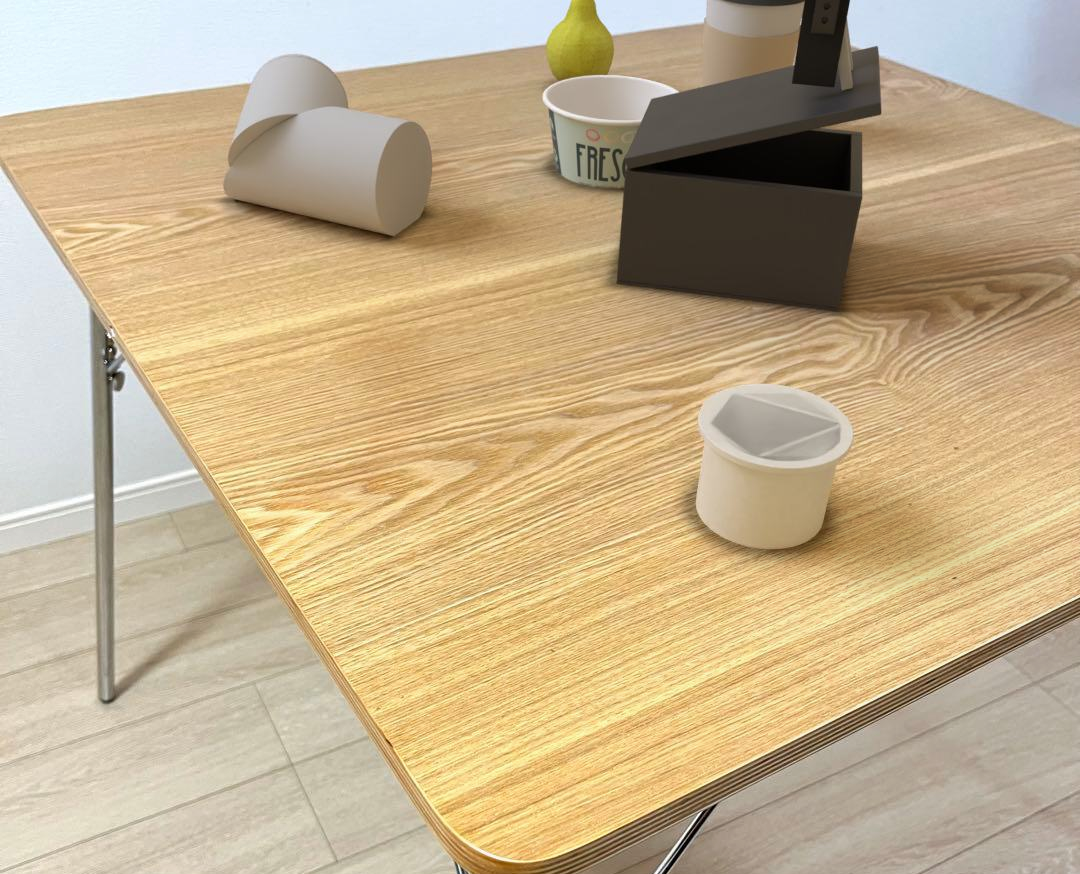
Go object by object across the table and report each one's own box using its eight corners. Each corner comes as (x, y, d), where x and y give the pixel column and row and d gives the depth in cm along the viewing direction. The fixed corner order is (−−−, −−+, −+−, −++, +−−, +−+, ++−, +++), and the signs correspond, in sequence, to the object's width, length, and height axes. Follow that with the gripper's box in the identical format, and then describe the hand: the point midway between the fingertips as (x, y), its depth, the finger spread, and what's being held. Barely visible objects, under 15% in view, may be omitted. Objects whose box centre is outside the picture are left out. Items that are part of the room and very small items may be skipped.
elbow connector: (143, 195, 89) (362, 247, 83) (137, 49, 84) (370, 94, 78) (278, 171, 104) (473, 214, 97) (279, 46, 99) (485, 83, 93)
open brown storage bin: (838, 244, 89) (862, 131, 83) (836, 319, 79) (862, 197, 74) (641, 221, 91) (651, 110, 86) (615, 290, 82) (625, 170, 76)
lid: (879, 56, 80) (865, -68, 76) (881, 115, 70) (865, -24, 66) (653, 109, 86) (627, -4, 81) (627, 169, 76) (596, 45, 72)
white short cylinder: (832, 486, 64) (854, 394, 60) (829, 574, 58) (853, 478, 54) (693, 465, 65) (706, 374, 61) (677, 550, 59) (690, 454, 55)
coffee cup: (762, 160, 102) (790, -21, 93) (672, 138, 106) (690, -38, 97) (799, 131, 109) (829, -41, 99) (713, 112, 112) (734, -57, 103)
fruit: (612, 100, 114) (621, -31, 106) (543, 97, 114) (548, -34, 106) (610, 78, 119) (619, -48, 112) (545, 76, 119) (549, -50, 112)
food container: (660, 146, 104) (667, 73, 100) (693, 198, 95) (703, 119, 91) (530, 150, 103) (532, 75, 98) (552, 203, 93) (555, 123, 89)
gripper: (824, -381, 68) (766, 29, 83) (815, -384, 55) (747, 108, 69) (952, -377, 67) (871, 38, 82) (976, -379, 53) (873, 120, 68)
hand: (814, 69), depth 76 cm, fingers closed on lid, 5 cm apart
